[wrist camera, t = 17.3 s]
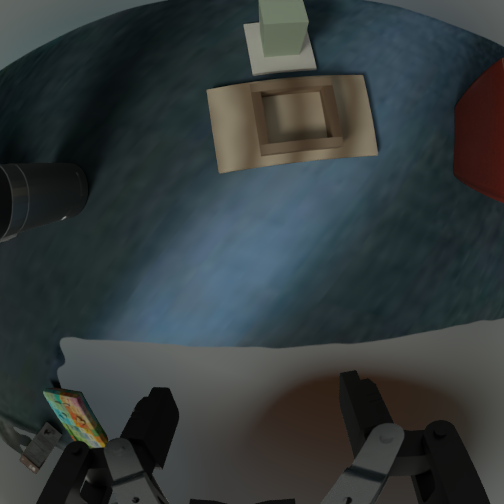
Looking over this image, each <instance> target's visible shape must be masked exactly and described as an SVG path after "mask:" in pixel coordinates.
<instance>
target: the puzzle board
mask: <svg viewBox="0 0 504 504" xmlns="http://www.w3.org/2000/svg"><path fill="white" fill-rule="evenodd" d="M207 96H208V103H209V110H210V117H211V123H212V130H213V137H214V144H215V150H216V157H217V163H218V170H219V173H226V172H232V171H238V170H244V169H251V168H258V167H265V166H272V165H280V164H288V163H296V162H305V161H314V160H324V159H336V158H348V157H362V156H376V155H378V150H377V144H376V137H375V131H374V125H373V120H372V115H371V109H370V104H369V100H368V95H367V90H366V86H365V82H364V77H363V75H325V76H305V77H292V78H281V79H272V80H264V81H256V82H249V83H242V84H236V85H230V86H225V87H219V88H214V89H209V90H207Z"/></svg>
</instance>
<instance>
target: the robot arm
mask: <svg viewBox="0 0 504 504" xmlns="http://www.w3.org/2000/svg"><path fill="white" fill-rule="evenodd" d="M87 197H88V182H87V178H86V176H85V173H84V172H83V170H82V169H81V168H80V167H79V166H77V165H76V164H73V163H18V164H0V239H2V238H5V237H8V236H11V235H14V234H17V233H20V232H23V231H26V230H30V229H33V228H36V227H39V226H43V225H46V224H50V223H53V222H57V221H61V220H64V219H68V218H71V217H74V216H76V215H78V214H79V213H80V212H81V211H82V209H83V208H84V206H85V204H86V201H87ZM339 403H340V409H341V412H342V415H343V419H344V423H345V426H346V430H347V433H348V437H349V441H350V445H351V448H352V452H353V456H354V459H355V460H354V462H353V464H352V465H351V466H350V467H349V468H346V470H344V472H343V473H342V474H341V476H340V477H339V479H338V481H337V482H336V483H335V485H334V486H333V487H332V489H331V490H330V492H329V493H328V494H327V495H326V497H325V498H324V500H323V501H322V502H321V503H320V504H375V502H376V501H377V499H378V497H379V495H380V494H381V492H382V490H383V488H384V486H385V484H386V482H387V480H388V478H389V476H407V475H410V476H411V479H412V482H413V486H414V489H415V493H416V496H417V500H418V503H419V504H490V502H489V499H488V497H487V494H486V492H485V489H484V487H483V485H482V483H481V480H480V478H479V476H478V474H477V471H476V469H475V467H474V465H473V463H472V461H471V459H470V457H469V454H468V452H467V450H466V448H465V446H464V444H463V443H462V440H461V438H460V436H459V434H458V433H457V431H456V429H455V427H454V425H453V424H451V423H450V422H448V421H444V420H438V421H434V422H432V423H430V424H429V425H428V426H427V427H426V429H425V430H417V431H407V430H403V429H402V428H401V427H400V426H398V425H396V424H394V422H393V420H392V418H391V416H390V414H389V412H388V409H387V407H386V405H385V403H384V401H383V400H382V397H381V394H380V393H379V390H378V388H377V386H376V384H375V383H373V382H372V381H371V380H369V379H363V380H360V378H359V376H358V373H357V371H356V370H354V371H349V372H344V373H340V379H339ZM178 421H179V411H178V408H177V405H176V403H175V401H174V399H173V396H172V393H171V391H170V389H169V388H165V387H164V388H162V387H153V388H152V390H151V392H150V394H149V396H148V397H143V398H142V399H141V400H140V401H139V402H138V403H137V405H136V407H135V409H134V412H132V415H131V418H129V420H128V422H127V424H126V426H125V428H124V430H123V432H122V434H121V436H120V438H115V439H112V440H110V441H109V442H108V443H107V444H106V445H105V447H100V448H90V447H89V446H88V445H87V444H86V443H85V442H83V441H74V442H72V443H70V444H69V445H67V447H66V448H65V450H64V452H63V453H62V455H61V457H60V459H59V461H58V463H57V465H56V466H55V468H54V470H53V472H52V474H51V476H50V477H49V479H48V481H47V483H46V485H45V487H44V489H43V491H42V493H41V495H40V497H39V499H38V501H37V503H36V504H108V503H109V500H110V497H111V494H112V491H113V492H114V494H115V497H116V499H117V502H118V504H169V502H168V501H167V499H166V497H165V495H164V494H163V492H162V490H161V488H160V487H159V485H158V483H157V481H156V480H155V477H154V476H153V474H152V473H153V470H154V469H160V470H162V469H163V466H164V463H165V460H166V457H167V454H168V451H169V448H170V445H171V442H172V439H173V436H174V433H175V430H176V427H177V424H178ZM84 479H86V481H85V483H84V485H83V488H82V490H81V492H80V488H81V486H82V484H83V481H84ZM190 504H225V503H221V502H218V501H210V500H209V501H208V500H196V499H190ZM256 504H295V499H284V500H270V501H265V502H260V503H256Z"/></svg>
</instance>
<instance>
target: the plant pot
mask: <svg viewBox="0 0 504 504" xmlns="http://www.w3.org/2000/svg"><path fill="white" fill-rule="evenodd" d="M453 173H454V176H455V177H456V178H457V179H458V180H460V181H461V182H463V183H464V184H466V185H467V186H469V187H471V188H472V189H474V190H476V191H478V192H480V193H482V194H484V195H486V196H488V197H490V198H493V199H495V200H497V201H500V202H502V203H504V57H503V58H501V59H500V60H498V61H497V62H496V63H494V64H493V65H492V66H491V67H489V68H488V69H487V70H486V71H484V72H483V73H482V74H481V75H480V76H479V77H478V78H477V79H476V80H475V81H474V82H473V83H472V84H471V86H470V87H469V88H468V89H467V90H466V92H465V93H464V94H463V96H462V97H461V98H460V100H459V101H458V103H457V104H456V106H455V147H454V167H453Z"/></svg>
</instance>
